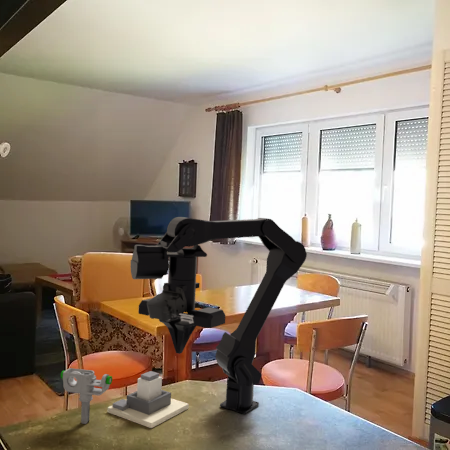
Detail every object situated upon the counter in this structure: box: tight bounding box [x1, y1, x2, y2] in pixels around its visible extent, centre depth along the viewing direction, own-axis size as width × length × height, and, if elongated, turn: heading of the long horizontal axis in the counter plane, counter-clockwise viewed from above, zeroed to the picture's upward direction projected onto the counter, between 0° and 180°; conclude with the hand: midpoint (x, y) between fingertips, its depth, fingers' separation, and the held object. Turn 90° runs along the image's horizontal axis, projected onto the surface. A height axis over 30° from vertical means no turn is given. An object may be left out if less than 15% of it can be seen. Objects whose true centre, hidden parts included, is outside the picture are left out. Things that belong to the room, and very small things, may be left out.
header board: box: [107, 389, 190, 429], centre depth 107 cm, size 12×12×4 cm
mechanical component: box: [60, 367, 113, 425], centre depth 100 cm, size 3×10×10 cm, turn 78°
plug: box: [136, 370, 163, 401], centre depth 107 cm, size 4×3×7 cm
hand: (179, 353), depth 105 cm, fingers closed
